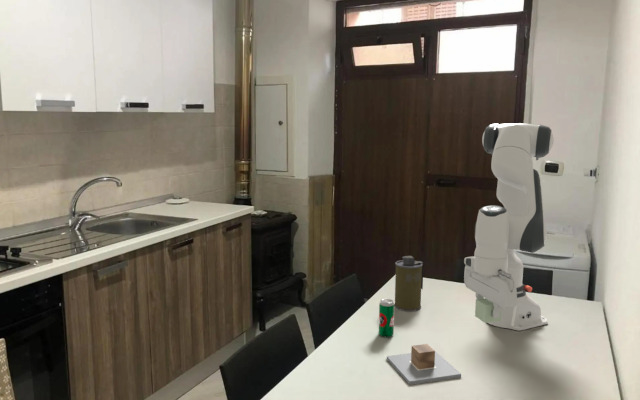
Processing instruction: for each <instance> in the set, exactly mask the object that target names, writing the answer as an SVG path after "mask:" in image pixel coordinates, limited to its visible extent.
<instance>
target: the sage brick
mask: <svg viewBox="0 0 640 400" xmlns="http://www.w3.org/2000/svg"><path fill="white" fill-rule="evenodd" d="M494 307H495V306H493V302H491V301H489V300H488V299H486V298H484V299H476V298H475V311H474V312H475V314H474V317H476V318H477V319H479V320H480V321H482V322H483V323H485V324H486V323H487V324H489V323H488V322H496V321H501V311H502V309H501V311H500V316H499V318H493V317H492V316H491V310H493V309H494Z"/></svg>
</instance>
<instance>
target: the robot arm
mask: <svg viewBox="0 0 640 400" xmlns="http://www.w3.org/2000/svg"><path fill="white" fill-rule="evenodd" d="M481 139H482V140H481V141H482V142H481V143H482V146H483V147H482V148H483V150H484V151H485V153H487V154H489V155H490V154H491V156H492V157H491V167H490V168H491V172H492V173H493V176H494V178H497V184H496V185H497V187H496V192H495V193H496V198H497V200H498V201H499V202H500V203H501V204H502V205H503V207H502V206H501V205H486V206H482V207H481V208H480V209H478V213H477V218H476V222H475V225H474V239H475V246H476V247H475V250H474V252H473V253H474V254H473V255H474V256H473V255H472V256H467V257H464V260H463V263H464V265H465V266H464V271H463V272H464V274H463V275H464V276H463V278H464V279H463V282H464V286H465V287H466V288H467V289H469V290H470V291H472V292H473V293H475V300H476V299H484V298H486V299H488V300H489V301H491V302H493V306H495V307H494V309H493V310H491V316H492V317H493V318H499V316H500V311H501V309H502V311H501V321H496V322H488V323H487V324H489V325H491V326H493V327H494V326H495V327H497V328H503V329H504V328H505V329H511V330H514V331H518V332H519V331H525V330H528V329H533V328H538V327H539V326H543V325H547V324H549V321H548V319H547V318H546V317H545V316H543V315H542V311H541V307H540V305H539V303H538V302H537V301H535V300H534V299H533V298H531V297H530V296H529V295H528V294H527V293H526V291H527V292H528V293H531V292H532V291H533V287H532V286H530V285H528V284H527V285H526V284H524V283H523V277H524V275H523V274H524V263H523V261H522V260H521V258H520V257H518V255H517V254H516V252H515V250H518V251H521V252H527V253H531V254H534V253H537V252H538V251H540V250H541V249H543V248H544V247H545V245H546V242H547V238H548V235H547V234H548V232H547V226H546V223H545V219H544V209H543V208H544V207H543V194H542V186H541V177H540V174H539V171H538V170H536V169H534V168H533V166H534V163H533V157H534V158H535V161H538V160H539V159H542V158H544V157H546V156H547V155H548V154H549V153H550V152H551V150H552V148H553V145H554V135H553V132H552V129H551V127H550V126H546V125H543V124H539V125H537V124H532V123H521V122H518V123H500V124H499V123H492V124H489V125H488V126H486V128H485V129H484V132H483V134H482V138H481Z"/></svg>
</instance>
